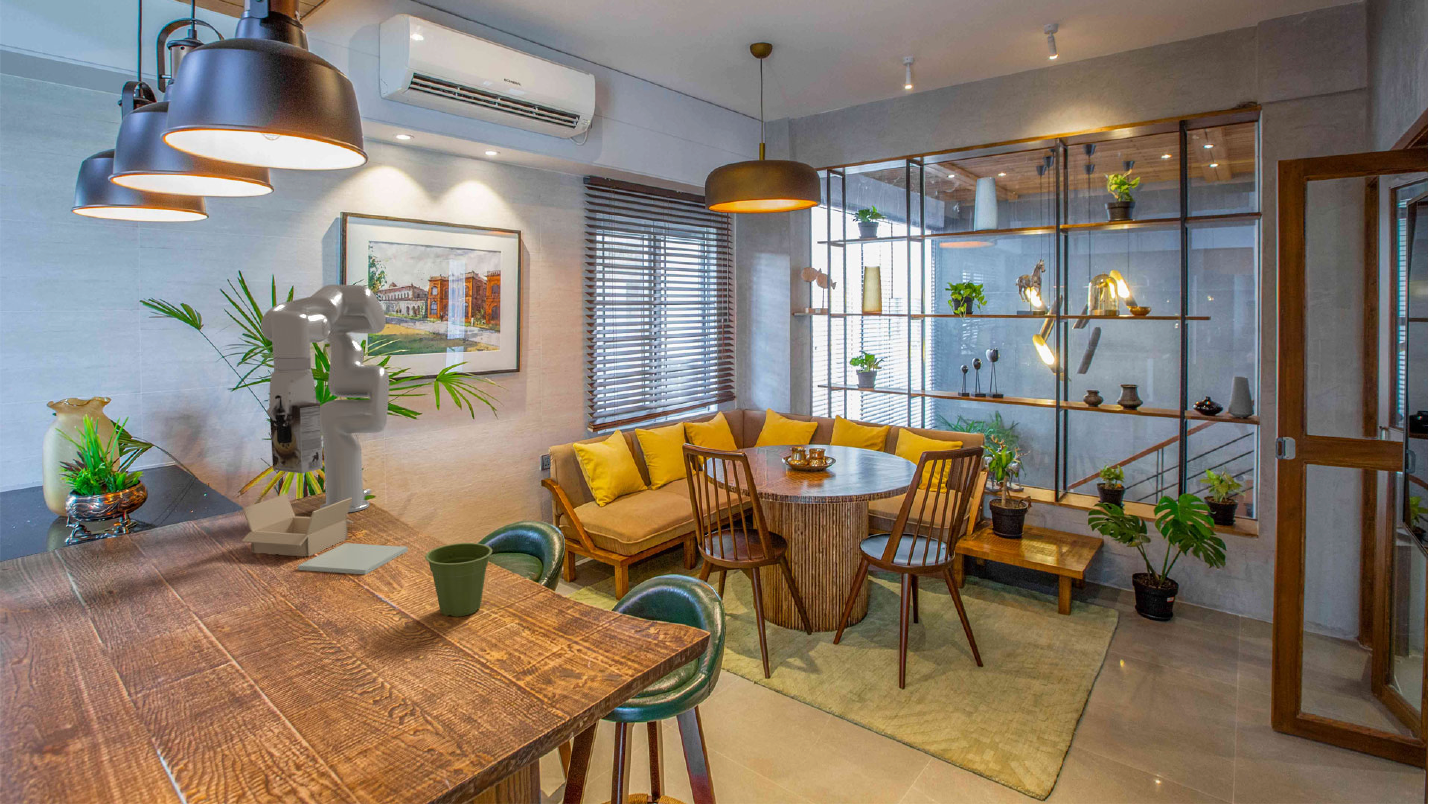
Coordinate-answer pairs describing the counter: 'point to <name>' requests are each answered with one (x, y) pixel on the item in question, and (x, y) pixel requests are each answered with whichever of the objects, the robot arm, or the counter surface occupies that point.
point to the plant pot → (459, 576)
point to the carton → (294, 527)
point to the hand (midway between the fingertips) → (296, 439)
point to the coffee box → (299, 441)
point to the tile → (353, 558)
